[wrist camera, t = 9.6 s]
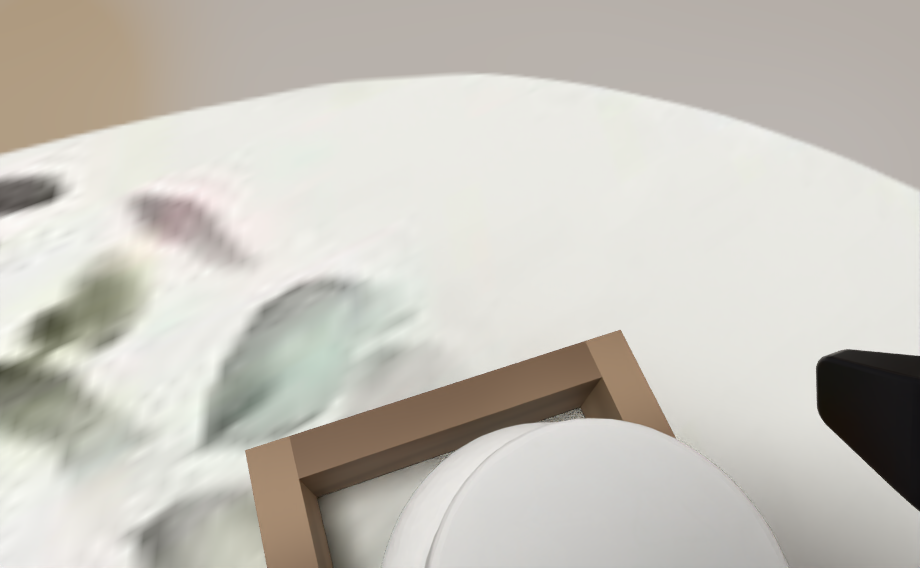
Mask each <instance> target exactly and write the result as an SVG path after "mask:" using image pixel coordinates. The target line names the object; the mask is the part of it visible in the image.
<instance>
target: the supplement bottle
mask: <svg viewBox="0 0 920 568" xmlns="http://www.w3.org/2000/svg"><path fill="white" fill-rule="evenodd" d="M381 568H789V566H788V563H787V561H786V559H785V556H784V554H783V552H782V550H781V548H780V546H779V544H778V542H777V540H776V538H775V536H774V534H773V533H772V531H771V529H770V527H769V525H768V524H767V522H766V521H765V520H764V518H763V517H762V515H761V514H760V513H759V511H758V510H757V508H756V507H755V506H754V504H753V503H752V502H751V500H750V499H749V498H748V497H747V495H746V494H745V493H744V492H743V491H742V490H741V489H740V488H739V487H738V486H737V485H736V484H735V483H734V481H733V480H732V479H731V478H730V477H729V476H728V475H726V474H725V473H724V472H723V471H722V470H721V469H720V468H718V467H717V466H716V465H715V464H714V463H712V462H711V461H710V460H709V459H707V458H706V457H704V456H703V455H702V454H700V453H699V452H697V451H696V450H694V449H693V448H691V447H690V446H688V445H686V444H684V443H683V442H681V441H679V440H677V439H675V438H673V437H671V436H669V435H666V434H664V433H662V432H659V431H657V430H655V429H652V428H649V427H646V426H643V425H640V424H635V423H631V422H626V421H621V420H615V419H598V418H578V419H572V420H566V421H560V422H538V423H527V424H520V425H515V426H511V427H506V428H502V429H500V430H497V431H494V432H491V433H488V434H486V435H483V436H481V437H479V438H477V439H475V440H473V441H471V442H469V443H468V444H466V445H464V446H463V447H461V448H460V449H458V450H457V451H455V452H454V453H452V454H451V455H450V456H448V457H447V458H446V459H445V460H443V461H442V462H441V463H440V464H439V465H438V466H437V467H436V468H435V469H434V470H433V471H432V472H431V473H430V474H429V475H428V476H427V477H426V478H425V480H424V481H423V482H422V483H421V484H420V485H419V486H418V488H417V489H416V491H415V492H414V493H413V495H412V496H411V498H410V499H409V501H408V503H407V504H406V506H405V507H404V509H403V511H402V512H401V514H400V516H399V518H398V521H397V523H396V525H395V527H394V529H393V531H392V534H391V537H390V539H389V542H388V545H387V548H386V550H385V554H384V558H383V562H382V566H381Z"/></svg>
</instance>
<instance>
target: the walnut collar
mask: <svg viewBox="0 0 920 568" xmlns="http://www.w3.org/2000/svg"><path fill="white" fill-rule="evenodd" d="M579 407H581V410H582V412H583V414H584V416H585V418H598V419H615V420H621V421H626V422H631V423H635V424H640V425H643V426H646V427H649V428H652V429H655V430H657V431H659V432H662V433H664V434H666V435H669V436H671V437H673V438H675V436H674V434H673V432H672V430H671V428H670V426H669V424H668V422H667V420H666V418H665V416H664V414H663V412H662V410H661V408H660V406H659V404H658V402H657V400H656V398H655V396H654V394H653V392H652V390H651V388H650V387H649V385H648V383H647V381H646V379H645V377H644V375H643V373H642V371H641V369H640V367H639V365H638V363H637V361H636V359H635V357H634V355H633V353H632V351H631V349H630V347H629V345H628V343H627V341H626V339H625V337H624V336H623V334H622V332H621V330H618V331H615V332H612V333H609V334H606V335H603V336H600V337H596V338H593V339H590V340H587V341H584V342H581V343H578V344H575V345H572V346H568V347H565V348H562V349H559V350H556V351H553V352H550V353H547V354H544V355H540V356H537V357H534V358H531V359H528V360H525V361H522V362H519V363H516V364H512V365H509V366H506V367H503V368H500V369H497V370H494V371H491V372H488V373H484V374H481V375H478V376H475V377H472V378H469V379H466V380H463V381H460V382H456V383H453V384H450V385H447V386H444V387H441V388H438V389H435V390H432V391H428V392H425V393H422V394H419V395H416V396H413V397H410V398H407V399H404V400H401V401H397V402H394V403H391V404H388V405H385V406H382V407H379V408H376V409H373V410H369V411H366V412H363V413H360V414H357V415H354V416H351V417H348V418H345V419H341V420H338V421H335V422H332V423H329V424H326V425H323V426H320V427H317V428H313V429H310V430H307V431H304V432H301V433H298V434H295V435H292V436H289V437H285V438H282V439H279V440H276V441H273V442H270V443H267V444H264V445H261V446H257V447H254V448H251V449H248V450H245V452H246V457H247V463H248V468H249V473H250V479H251V484H252V489H253V495H254V500H255V505H256V511H257V516H258V521H259V527H260V532H261V537H262V542H263V548H264V553H265V558H266V564H267V568H333V564H332V560H331V556H330V552H329V547H328V543H327V539H326V534H325V530H324V526H323V521H322V517H321V513H320V509H319V504H318V500H317V497H320V496H323V495H326V494H329V493H332V492H335V491H338V490H340V489H343V488H346V487H349V486H352V485H355V484H358V483H361V482H364V481H367V480H370V479H372V478H375V477H378V476H381V475H384V474H387V473H390V472H393V471H396V470H399V469H402V468H404V467H407V466H410V465H413V464H416V463H419V462H422V461H425V460H428V459H431V458H434V457H436V456H439V455H442V454H445V453H448V452H451V451H454V450H457V449H460V448H461V447H463V446H464V445H466V444H468V443H469V442H471V441H473V440H475V439H477V438H479V437H481V436H483V435H486V434H488V433H491V432H494V431H497V430H500V429H502V428H506V427H511V426H515V425H520V424H527V423H535V422H538V421H541V420H544V419H547V418H550V417H553V416H556V415H559V414H562V413H564V412H567V411H570V410H573V409H576V408H579ZM675 439H676V438H675Z"/></svg>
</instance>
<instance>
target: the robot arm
mask: <svg viewBox="0 0 920 568" xmlns="http://www.w3.org/2000/svg"><path fill="white" fill-rule="evenodd" d="M816 387H817V409H818V412H819V415H820V417H821V418H822V420H823V421H824V423H825V424H826V425H827V426H828V427H829V428H830V429H831V430H832V431H833V432H834V433H836V434H837V435H838V436H839V437H840V438H841V439H842V440H843V441H844V442H845V443H846V444H847V445H848V446H849V447H850V448H851V449H852V450H853V451H855V452H856V453H857V454H858V455H859V456H860V457H861V458H862V459H863V460H864V461H865V462H866V463H867V464H868V465H869V466H870V467H871V468H872V469H874V470H875V471H876V472H877V473H878V474H879V475H880V476H881V477H882V478H883V479H884V480H885V481H886V482H887V483H888V484H889V485H890V486H891V487H893V488H894V489H895V490H896V491H897V492H898V493H899V494H900V495H901V496H902V497H903V498H905V499H906V500H907V501H908V502H909V503H910V504H911V505H913V506H914V507H915V508H916V509H917V510H919V511H920V356H914V355H903V354H893V353H882V352H872V351H861V350H851V349H846V350H841V351H838V352H835V353H832V354H829V355H827V356H824V357H822V358H821V359H820V360H819V361H818V363H817V366H816Z"/></svg>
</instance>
